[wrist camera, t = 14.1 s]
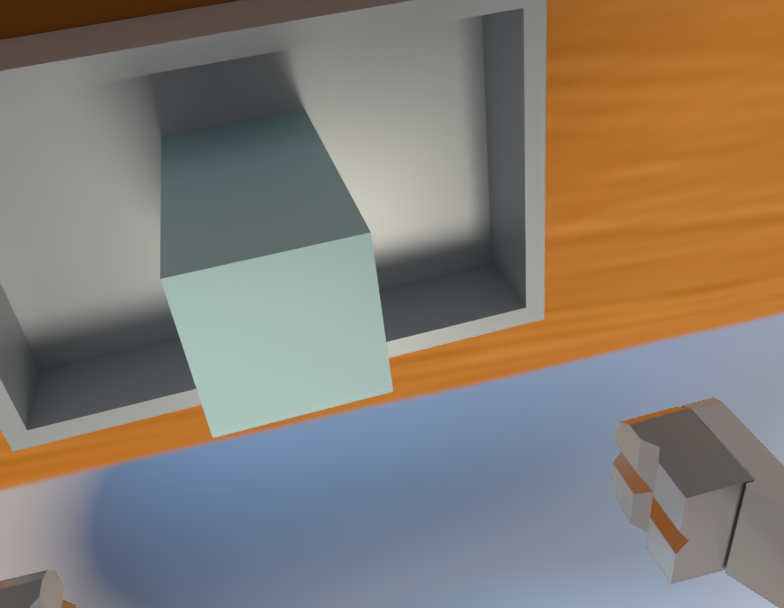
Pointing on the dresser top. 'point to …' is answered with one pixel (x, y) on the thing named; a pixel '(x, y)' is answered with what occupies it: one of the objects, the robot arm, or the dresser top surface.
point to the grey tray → (240, 103)
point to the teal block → (268, 273)
